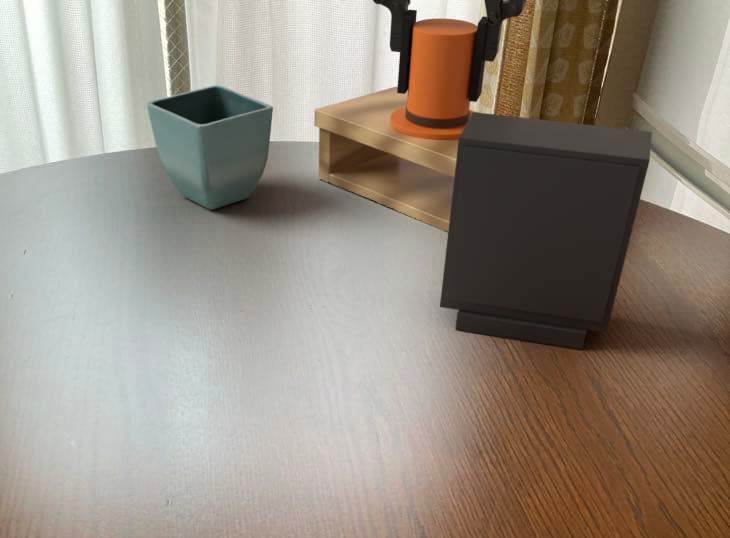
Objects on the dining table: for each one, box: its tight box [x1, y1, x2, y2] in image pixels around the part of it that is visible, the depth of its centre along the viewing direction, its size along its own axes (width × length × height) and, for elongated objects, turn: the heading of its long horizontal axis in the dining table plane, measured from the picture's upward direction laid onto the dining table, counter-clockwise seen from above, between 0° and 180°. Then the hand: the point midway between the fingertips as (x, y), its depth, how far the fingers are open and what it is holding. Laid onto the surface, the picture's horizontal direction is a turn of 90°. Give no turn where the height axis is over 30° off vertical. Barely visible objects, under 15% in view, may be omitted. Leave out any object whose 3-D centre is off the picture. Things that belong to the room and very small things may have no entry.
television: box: [439, 111, 653, 351], centre depth 70 cm, size 7×13×14 cm, turn 74°
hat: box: [390, 18, 478, 140], centre depth 87 cm, size 9×9×8 cm
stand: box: [313, 86, 479, 233], centre depth 92 cm, size 22×12×7 cm, turn 44°
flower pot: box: [146, 84, 274, 211], centre depth 89 cm, size 9×9×9 cm
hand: (439, 92), depth 88 cm, fingers open, 6 cm apart
